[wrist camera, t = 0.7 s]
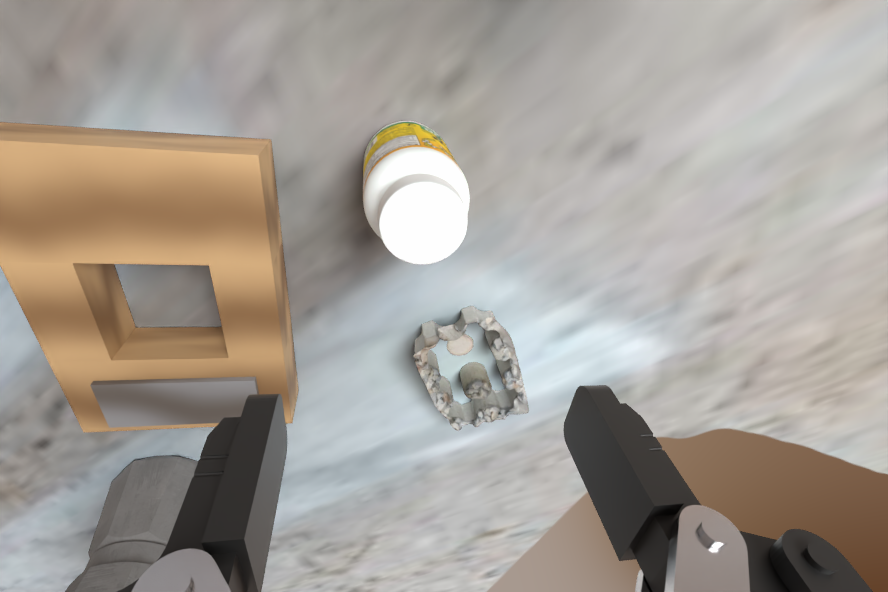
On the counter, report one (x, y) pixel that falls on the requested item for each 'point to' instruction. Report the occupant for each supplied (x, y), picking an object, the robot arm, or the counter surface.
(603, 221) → the counter surface
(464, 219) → the supplement bottle
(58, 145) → the jig
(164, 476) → the coffeepot
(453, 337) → the egg carton
